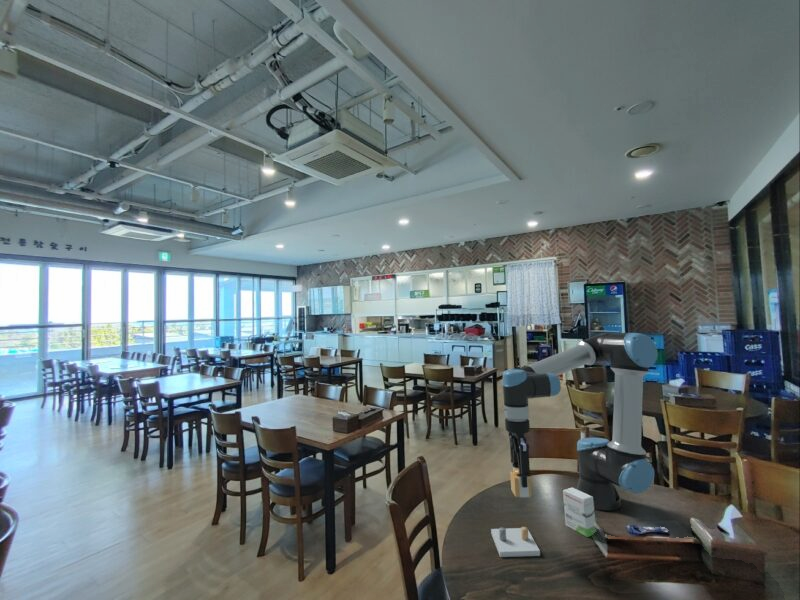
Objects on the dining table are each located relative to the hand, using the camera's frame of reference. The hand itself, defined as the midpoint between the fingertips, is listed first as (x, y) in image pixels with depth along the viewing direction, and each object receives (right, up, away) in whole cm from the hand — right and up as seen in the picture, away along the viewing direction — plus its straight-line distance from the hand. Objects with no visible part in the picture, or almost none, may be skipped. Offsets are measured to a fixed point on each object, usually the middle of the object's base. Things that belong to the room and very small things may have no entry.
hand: (521, 492), depth 115 cm
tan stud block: (0, 0, 0) cm, 0 cm away
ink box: (+22, -15, +5) cm, 27 cm away
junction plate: (-3, -16, -1) cm, 16 cm away
